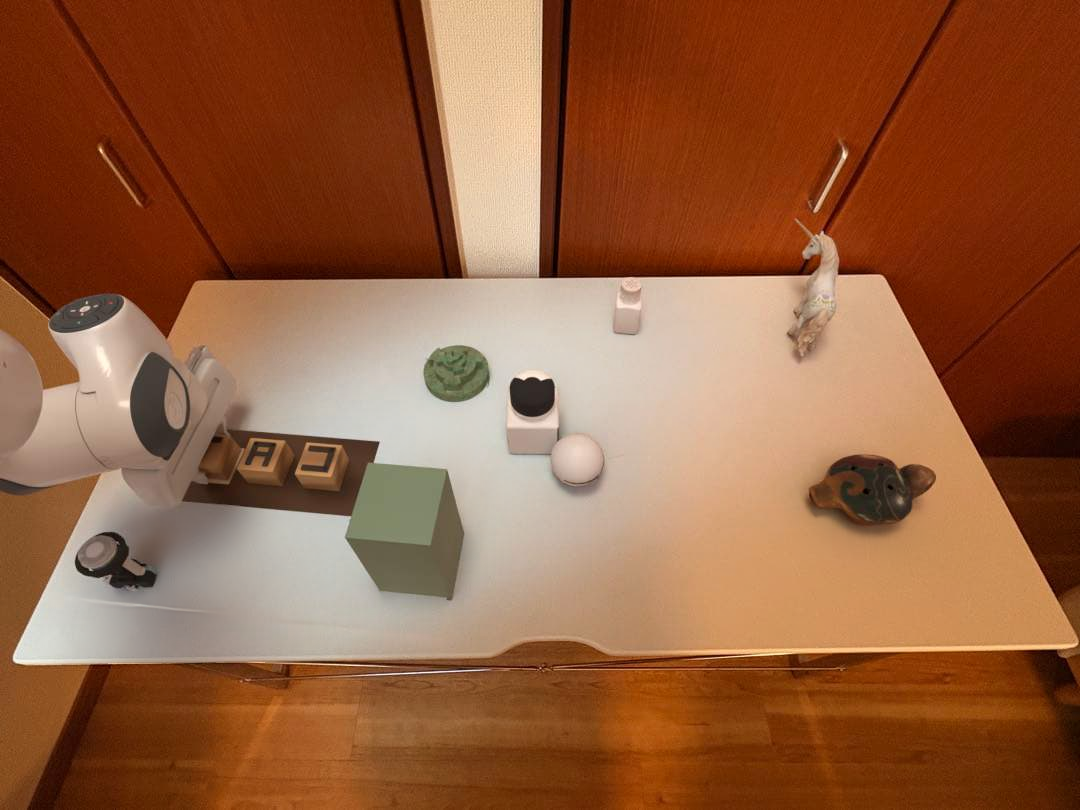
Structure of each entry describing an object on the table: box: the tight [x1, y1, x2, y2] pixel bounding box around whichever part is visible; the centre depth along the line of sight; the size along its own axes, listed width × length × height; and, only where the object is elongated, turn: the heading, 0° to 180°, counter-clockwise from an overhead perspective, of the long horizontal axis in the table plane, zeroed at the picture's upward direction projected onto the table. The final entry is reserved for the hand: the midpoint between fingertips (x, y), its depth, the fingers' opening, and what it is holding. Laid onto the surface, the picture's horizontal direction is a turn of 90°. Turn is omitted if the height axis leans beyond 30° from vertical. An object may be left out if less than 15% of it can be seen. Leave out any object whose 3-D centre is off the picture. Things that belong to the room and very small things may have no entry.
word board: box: [181, 428, 381, 517], centre depth 87 cm, size 12×28×1 cm, turn 84°
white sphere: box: [549, 432, 623, 487], centre depth 84 cm, size 10×7×7 cm
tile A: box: [237, 438, 295, 486], centre depth 85 cm, size 5×5×4 cm
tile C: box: [295, 443, 349, 491], centre depth 84 cm, size 5×5×4 cm
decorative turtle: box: [808, 453, 937, 526], centre depth 80 cm, size 10×15×8 cm, turn 100°
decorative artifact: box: [423, 344, 491, 403], centre depth 94 cm, size 10×7×10 cm
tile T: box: [198, 434, 242, 480], centre depth 85 cm, size 5×5×4 cm
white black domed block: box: [505, 369, 560, 455], centre depth 86 cm, size 7×7×12 cm
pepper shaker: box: [612, 276, 643, 335], centre depth 99 cm, size 4×4×10 cm
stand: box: [344, 462, 465, 601], centre depth 72 cm, size 9×9×17 cm
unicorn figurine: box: [786, 218, 840, 358], centre depth 98 cm, size 7×20×13 cm, turn 178°
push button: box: [74, 531, 159, 591], centre depth 74 cm, size 7×5×10 cm
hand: (214, 459), depth 86 cm, fingers closed on tile T, 5 cm apart
